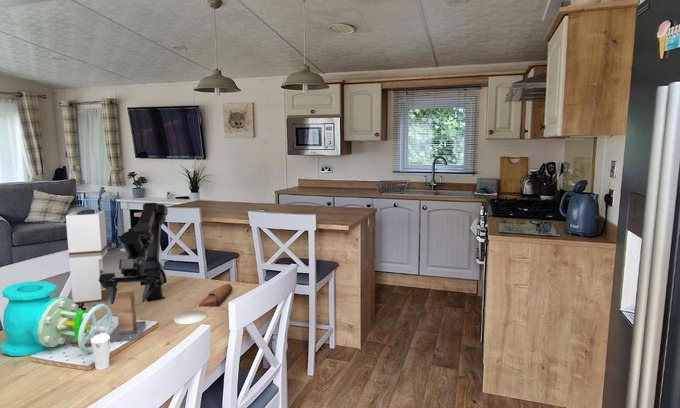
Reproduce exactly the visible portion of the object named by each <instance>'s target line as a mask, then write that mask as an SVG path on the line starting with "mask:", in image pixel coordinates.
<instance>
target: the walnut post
mask: <svg viewBox="0 0 680 408" xmlns="http://www.w3.org/2000/svg"><path fill="white" fill-rule="evenodd" d="M116 306H117V307H116V310H117V320H118V322H117V323H118V324H119V331H132V330H133V329H134V328H135V327H136V322H137V316H136V315H137V314H136V298H135V289H123V290H122V289H121V290H119V292H118V293H116ZM118 324H117V325H118Z"/></svg>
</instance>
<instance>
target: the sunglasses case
mask: <svg viewBox="0 0 680 408" xmlns="http://www.w3.org/2000/svg"><path fill="white" fill-rule="evenodd" d="M232 291H233V286H232V285H231V284H229V283H225V284H222V285H220V286H219V287H217V288H215V289H213V290H211V291H209V293H208V295H207V296H206V297H205V298H203V300H202V301H201V302H200V303H199V304H198V307H203V308H204V307H205V308H206V307H208V308H211V307H212V308H218V307H220V306H221V305H222V303H223V301H224V300H225V299H226V298H227V297H228V296H229V294H231V292H232Z"/></svg>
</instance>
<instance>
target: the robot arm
mask: <svg viewBox="0 0 680 408" xmlns="http://www.w3.org/2000/svg"><path fill="white" fill-rule="evenodd" d="M142 204H143V205H142V211H141V214H140V217H139V219H138V223H137V224H136V225H133V227H131V228H128V231H125V232H124V233H122V235H120V238H119V241H120V243H121V245H122V247H123V249H124V252H126V253H127V257H126V258H124V259H123V258H122V259H119V263H118V265H119V266H118V270H119V271H120V273H121V275H123V276H116V274H115V273H114V272H105V273H104V272H103V273H101V274H100V277H99V282H100V283H101V287H102V288H103V289H105V290H109V294H110V297H109V301H110V304H111V305H114V304H115V301H116V298H117V296H116V295H117V291H118V288H117V286H118V283H119V284H120V283H121V284H122V283H136V282H137V283H138V282H139V284H140V286H144V289H143V293H142V294H143V295H142V298H141V299H142V300H141V302H142V303H145V302H148V303H149V302H154V301H158V300H160V301H161V300H164V299H166V297H165V295H163V290H162V289H163V287H162V285H165V284H167V282H168V281H167V275H166V273H165V271H164V267H163V265H162V263H161V261H160V251H161V250H160V247H161V233H162V225H163V224H164V223H165V222H166V219H167V215H168V212H169V210H168V207H167V206H166V205H165V204H164V203H160V204H159V203H157V202H145V203H142ZM146 246H147V247H146Z"/></svg>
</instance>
